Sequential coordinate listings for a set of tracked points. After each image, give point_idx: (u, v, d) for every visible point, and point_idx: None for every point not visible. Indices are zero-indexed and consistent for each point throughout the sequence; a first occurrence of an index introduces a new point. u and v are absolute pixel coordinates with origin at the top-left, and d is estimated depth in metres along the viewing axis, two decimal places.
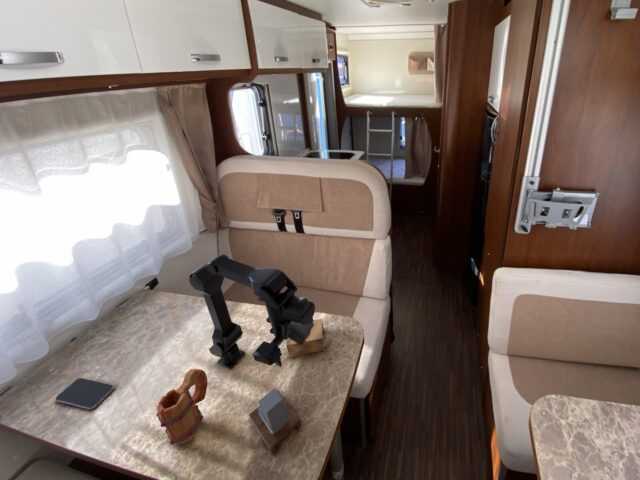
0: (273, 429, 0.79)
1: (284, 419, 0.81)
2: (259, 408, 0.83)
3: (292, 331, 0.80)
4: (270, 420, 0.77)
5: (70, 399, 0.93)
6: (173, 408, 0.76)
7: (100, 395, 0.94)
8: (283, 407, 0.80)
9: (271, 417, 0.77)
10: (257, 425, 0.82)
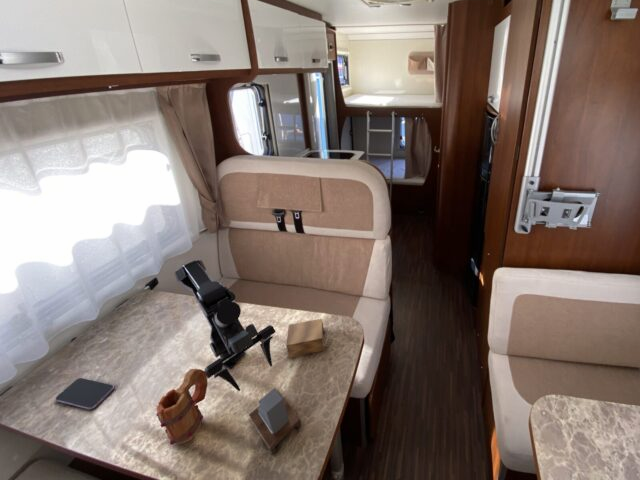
0: (273, 429, 0.79)
1: (284, 419, 0.81)
2: (259, 408, 0.83)
3: (230, 340, 0.80)
4: (270, 420, 0.77)
5: (70, 399, 0.93)
6: (173, 408, 0.76)
7: (100, 395, 0.94)
8: (283, 407, 0.80)
9: (271, 417, 0.77)
10: (257, 425, 0.82)
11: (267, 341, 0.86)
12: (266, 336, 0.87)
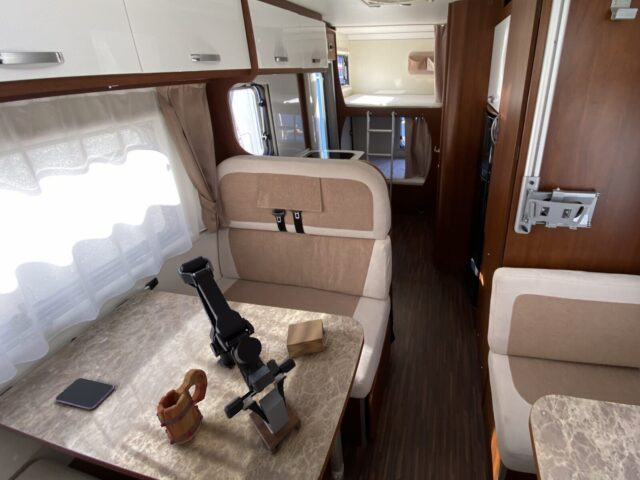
0: (273, 429, 0.79)
1: (284, 419, 0.81)
2: None
3: (250, 377, 0.77)
4: (270, 420, 0.77)
5: (70, 399, 0.93)
6: (173, 408, 0.76)
7: (100, 395, 0.94)
8: (283, 407, 0.80)
9: (271, 417, 0.77)
10: (257, 425, 0.82)
11: (281, 381, 0.82)
12: (287, 370, 0.83)
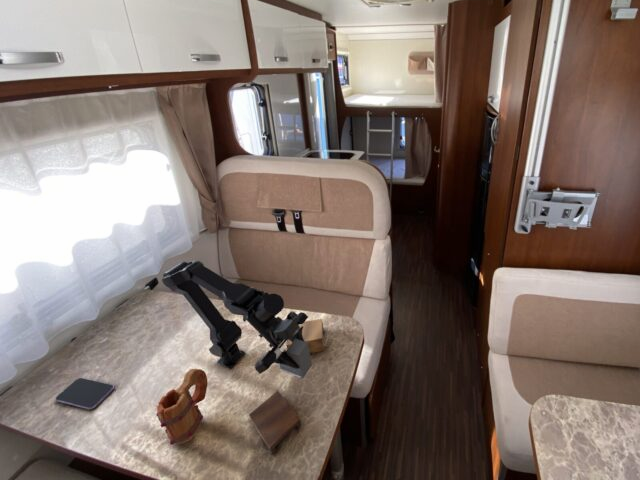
0: (303, 372, 0.87)
1: (309, 363, 0.90)
2: (281, 364, 0.90)
3: (276, 330, 0.84)
4: (300, 363, 0.86)
5: (70, 399, 0.93)
6: (173, 408, 0.76)
7: (100, 395, 0.94)
8: (308, 351, 0.89)
9: (301, 360, 0.86)
10: (257, 425, 0.82)
11: (300, 331, 0.90)
12: (302, 321, 0.92)
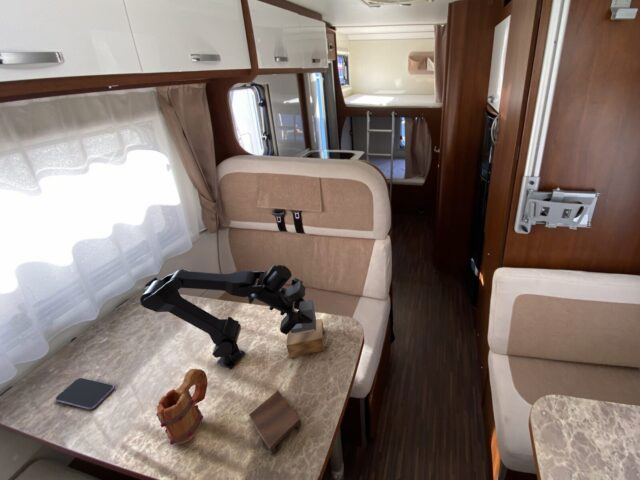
0: (315, 324, 1.03)
1: (315, 317, 1.06)
2: (292, 328, 1.02)
3: (290, 294, 0.96)
4: (313, 316, 1.02)
5: (70, 399, 0.93)
6: (173, 408, 0.76)
7: (100, 395, 0.94)
8: (313, 307, 1.05)
9: (313, 314, 1.02)
10: (257, 425, 0.82)
11: None
12: None
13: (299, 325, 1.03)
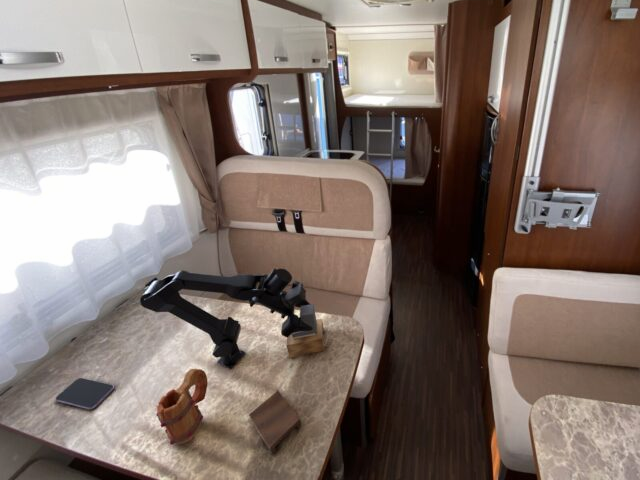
0: (316, 329, 1.04)
1: (316, 321, 1.07)
2: None
3: (290, 297, 0.97)
4: (314, 320, 1.03)
5: (70, 399, 0.93)
6: (173, 408, 0.76)
7: (100, 395, 0.94)
8: (314, 311, 1.06)
9: (314, 318, 1.03)
10: (257, 425, 0.82)
11: None
12: None
13: None
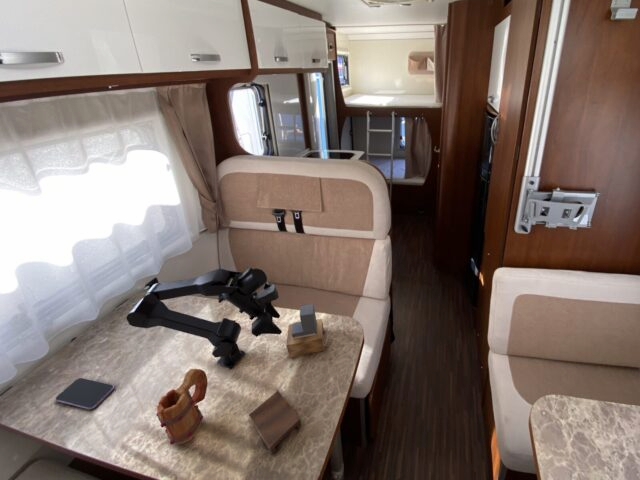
0: (316, 329, 1.04)
1: (316, 321, 1.07)
2: (293, 332, 1.03)
3: (263, 295, 0.96)
4: (314, 320, 1.03)
5: (70, 399, 0.93)
6: (173, 408, 0.76)
7: (100, 395, 0.94)
8: (314, 311, 1.06)
9: (314, 318, 1.03)
10: (257, 425, 0.82)
11: None
12: None
13: (300, 329, 1.04)
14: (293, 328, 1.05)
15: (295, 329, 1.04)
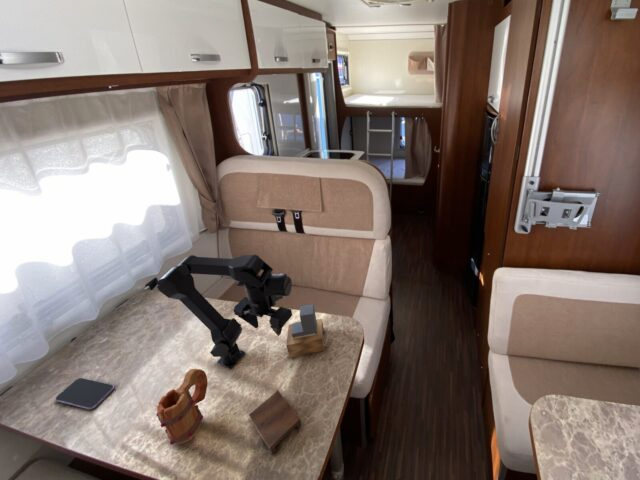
0: (316, 329, 1.04)
1: (316, 321, 1.07)
2: (293, 332, 1.03)
3: None
4: (314, 320, 1.03)
5: (70, 399, 0.93)
6: (173, 408, 0.76)
7: (100, 395, 0.94)
8: (314, 311, 1.06)
9: (314, 318, 1.03)
10: (257, 425, 0.82)
11: None
12: None
13: (300, 329, 1.04)
14: (293, 328, 1.05)
15: (295, 329, 1.04)
